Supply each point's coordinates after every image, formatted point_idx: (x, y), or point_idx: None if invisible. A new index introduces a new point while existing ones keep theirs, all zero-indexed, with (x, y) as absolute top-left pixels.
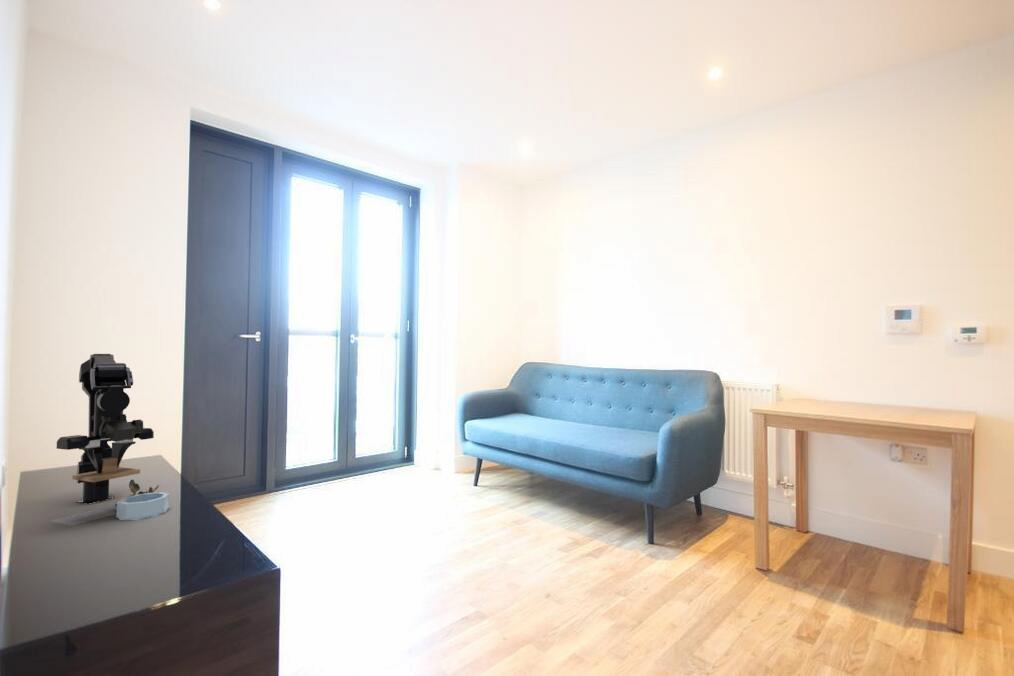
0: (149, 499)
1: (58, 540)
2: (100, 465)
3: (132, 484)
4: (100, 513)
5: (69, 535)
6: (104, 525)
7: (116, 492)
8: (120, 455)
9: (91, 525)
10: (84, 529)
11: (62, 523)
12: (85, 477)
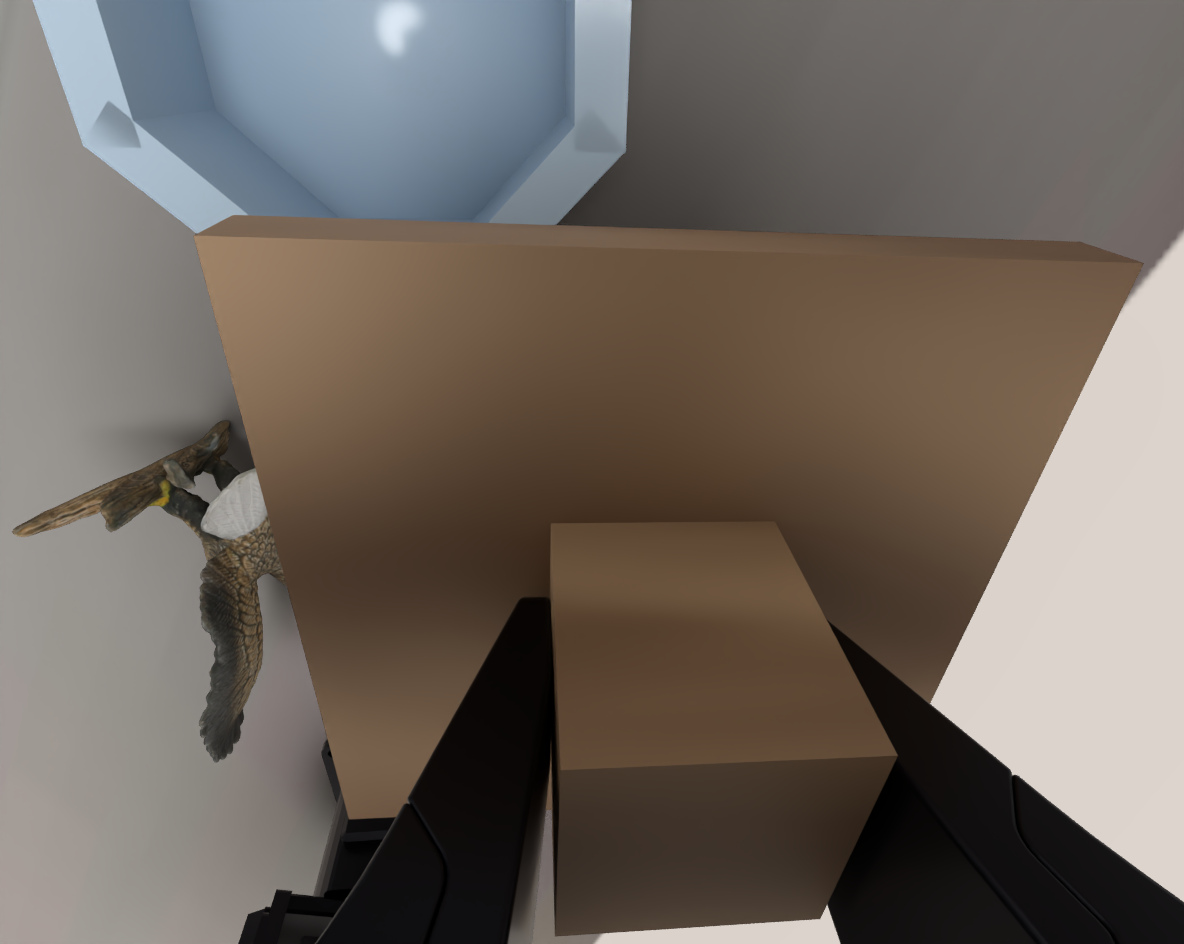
0: (242, 175)
1: (1119, 3)
2: (862, 678)
3: (236, 667)
4: None
5: (997, 73)
6: (732, 75)
7: (261, 850)
8: (465, 849)
9: (758, 210)
10: (851, 138)
11: None
12: (1008, 530)
